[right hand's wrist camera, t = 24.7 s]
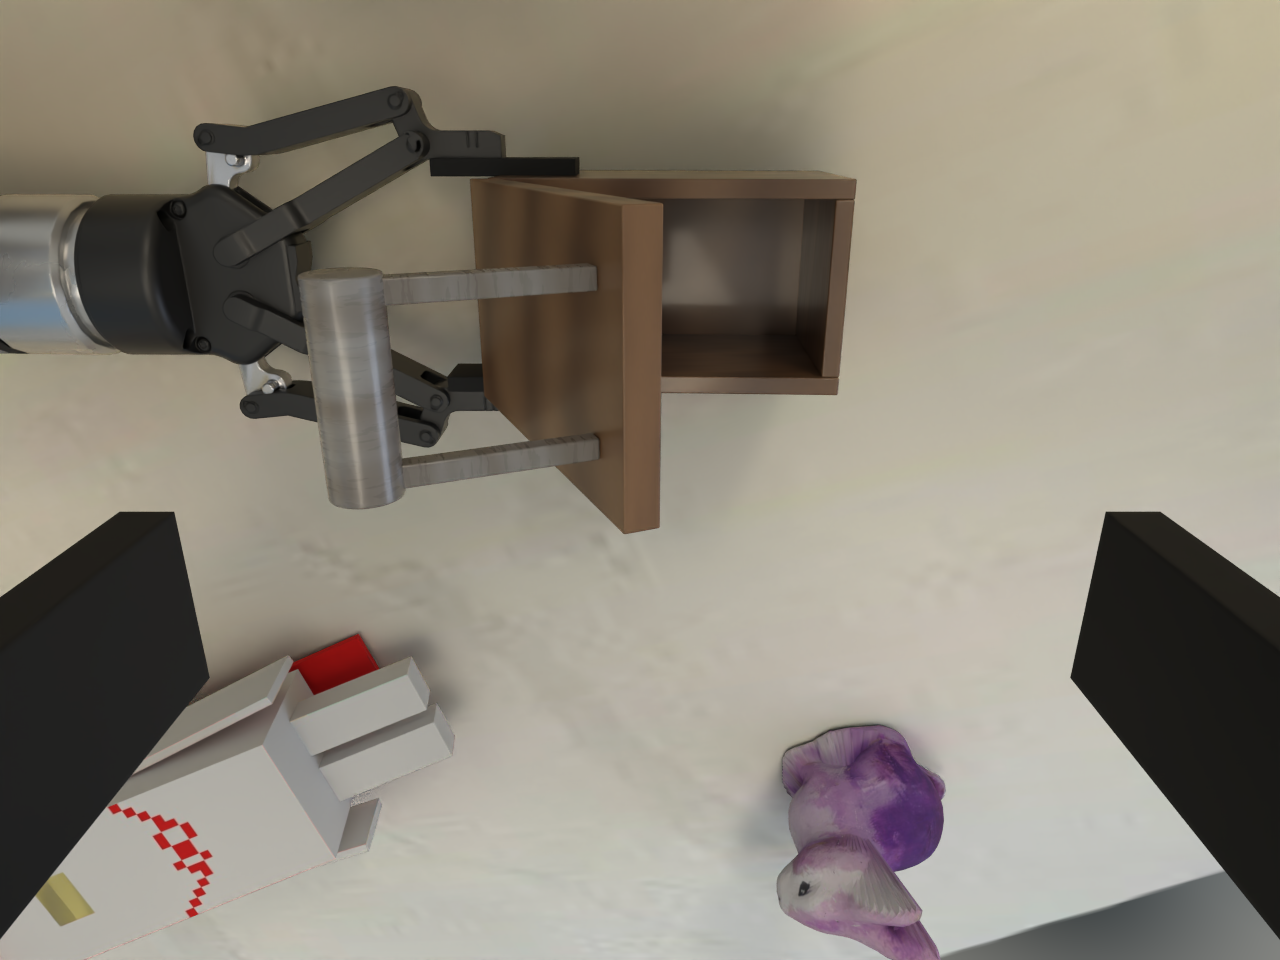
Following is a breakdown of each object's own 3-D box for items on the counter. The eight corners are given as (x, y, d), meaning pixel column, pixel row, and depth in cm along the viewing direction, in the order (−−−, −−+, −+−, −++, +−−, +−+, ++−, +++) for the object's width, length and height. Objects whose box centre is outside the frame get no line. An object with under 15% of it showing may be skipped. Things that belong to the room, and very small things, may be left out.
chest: (819, 170, 45) (856, 179, 36) (807, 346, 49) (837, 395, 40) (525, 169, 46) (486, 177, 37) (532, 343, 49) (499, 391, 40)
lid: (664, 202, 23) (293, 213, 19) (660, 528, 26) (345, 587, 23) (497, 178, 36) (264, 182, 33) (509, 393, 40) (299, 417, 36)
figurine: (744, 779, 60) (775, 971, 46) (854, 689, 58) (923, 865, 44) (835, 851, 63) (890, 1055, 49) (945, 768, 60) (1037, 959, 46)
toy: (466, 840, 50) (-16, 1035, 50) (477, 710, 63) (92, 866, 63) (371, 672, 46) (-155, 884, 46) (403, 570, 59) (-9, 735, 59)
